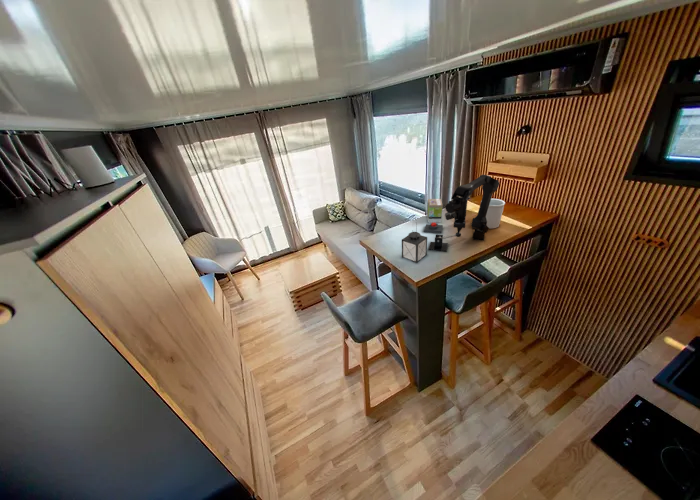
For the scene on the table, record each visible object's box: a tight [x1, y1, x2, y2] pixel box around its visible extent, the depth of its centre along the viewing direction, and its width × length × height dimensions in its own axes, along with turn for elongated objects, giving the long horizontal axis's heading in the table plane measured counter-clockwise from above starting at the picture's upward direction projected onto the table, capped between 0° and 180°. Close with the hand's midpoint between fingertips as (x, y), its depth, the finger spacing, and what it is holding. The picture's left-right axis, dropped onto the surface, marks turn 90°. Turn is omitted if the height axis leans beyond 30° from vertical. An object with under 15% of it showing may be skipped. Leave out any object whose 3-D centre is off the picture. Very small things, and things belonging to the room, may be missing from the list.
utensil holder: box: [480, 197, 506, 229], centre depth 179 cm, size 15×15×18 cm
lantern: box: [401, 214, 428, 264], centre depth 152 cm, size 11×11×28 cm
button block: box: [423, 223, 444, 234], centre depth 185 cm, size 12×10×4 cm
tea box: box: [426, 198, 443, 224], centre depth 199 cm, size 15×10×15 cm
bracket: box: [428, 234, 449, 253], centre depth 163 cm, size 11×10×8 cm
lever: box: [437, 231, 462, 240], centre depth 158 cm, size 15×3×3 cm, turn 66°
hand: (458, 231), depth 154 cm, fingers closed
